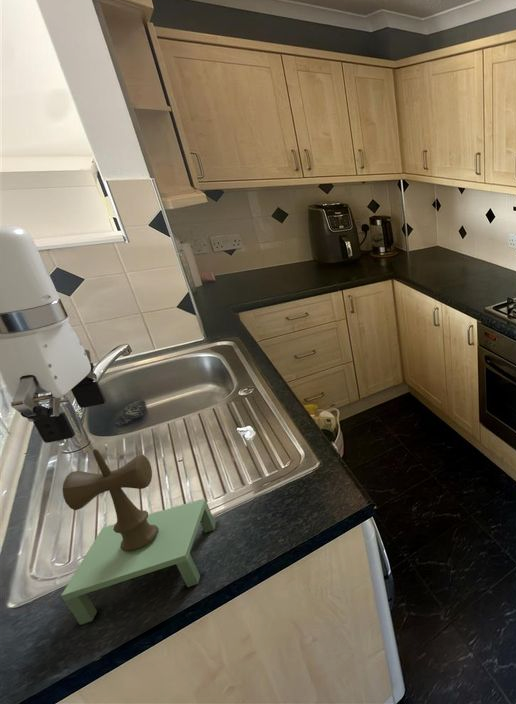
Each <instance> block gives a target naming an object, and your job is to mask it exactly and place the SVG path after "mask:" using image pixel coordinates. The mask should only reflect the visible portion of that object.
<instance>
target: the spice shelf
mask: <svg viewBox="0 0 516 704" xmlns="http://www.w3.org/2000/svg"><path fill="white" fill-rule="evenodd" d="M213 516H214V515H213V514H212V511H211V509H210V507H209V504H208V501H207V499H206V498H202V499H197V500H194V501H190V502H187V503H184V504H181V505H176V506H173V507H169V508H166V509H162V510H159V511H155V512H152V513H148V518H147V521H148V523H149V524H150V525H156V526H157V527H158V528H159V530H158V534H157V535H156V537H155V538H154V539H153V540H152V541H151V542H150V543H148V544H147V545H145V546H144V547H141V548H139V549H137V550H133V551H123V550H122V549H121V548H120V546H121V542H122V540H123V538H122V535H121V534H120V533H116V532H115V531H114V530H113V529H114V525H115V524H116V523H114V524H111V525H107V526H104V527H102V528H101V529H100V531H99V533H98V534H97V536H96V537H95V539H94V541H93V542H92V545H91V546H90V547H89V549H88V551H87V552H86V554H85V556H84V557H83V558H82V561H81V562H80V564H79V565H78V567H77V568H76V570H75V572H74V574H73V575H72V577H71V578H70V580H69V582H68V583H67V585H66V587H65V588H64V590H63V591H62V593H61V595H60V597H61V598H62V600H63V602H64V603H65V604H66V606H67V608H68V609H69V611H70V612H71V613H72V615H73V616H74V618H75V620H76V621H77V622H78V624H79V626H81V625H84V624H87V623H90V622H92V621H94V619H95V616H96V615H97V613H98V611H97V609H96V607H95V606H94V604H93V603H92V601H91V599H90V598H89V596H88V594H89V593H92V592H95V591H98V590H101V589H104V588H108V587H111V586H113V585H116V584H119V583H122V582H125V581H129V580H132V579H135V578H138V577H141V576H144V575H147V574H150V573H154V572H156V571H159V570H163V569H166V568H168V567H171V566H174V565H176V567H177V569H178V571H179V573H180V575H181V577H182V579H183V581H184V584H185V585H186V588H190V587H193V586H195V585H198V584H199V581H200V579H201V574H200V572H199V570H198V568H197V566H196V564H195V562H194V559H193V557H192V555H191V550H192V547H193V544H194V541H195V539H196V535H197V533H198V530H199V527H200V525H201V527H202V530H203V532H204V534H206V533H210V532H212V531H215V528H216V525H217V524H216V521H215V519H214V517H213Z"/></svg>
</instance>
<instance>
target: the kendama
mask: <svg viewBox="0 0 516 704" xmlns="http://www.w3.org/2000/svg"><path fill="white" fill-rule="evenodd" d="M92 453H93V456H94V459H95V461H96V464H97V466H98V468H99V470H100V472H101V473H93V472H87V471H82V470H75V471H71V472H69V473H68V475H66V476H65V479H64V481H63V484H62V488H61V489H62V497H63V499H64V502H65V504H66V505H67V506H68V508H69V509H71V510H73V511H78V510H81V509H83V508H85V507H86V506H87V505H88V504H89V503H90V502H92V501H93V500H94V499H95V498H96V497H97V496H99V495H100V494H104V493H106V492H109V494H110V497H111V499H112V503H113V506H114V511H115V515H116V522H115V523H114V524H115V525H114V524H113V525H114V529H113V530H114V531H115V532H116V533H120V534H121V535H122V538H123V540H122V542H121V546H120V548H121V549H122V550H123V551H133V550H137V549H139V548H141V547H144V546H145V545H147V544H148V543H150V542H151V541H152V540H153V539H154V538H155V537H156V535H157V534H158V530H159V528H158V527H157V526H156V525H150V524H149V523H148V521H147V518H148V514H149V511H147V510H143V509H142V510H141V509H139V508H138V507H137V506H136V505H135V504H134V503H133V502H132V500H131V499H130V498H129V497H128V495H127V494H126V493H125V491H124V490H123V489H125V488H127V489H136V490H137V489H138V490H144V489H146V488H148V487H149V486H150V484H151V482H152V479H153V470H152V469H153V468H152V466H151V462H150V460H149V459H148V458H147V456H145V455H144V454H139V455H137V456H135V457H133V458H132V459H131V460H130V461H128V462H127V463H125V464H124V465H122V466H120V467H119V468H116V469H114V470H111V469H110V467H109V466H108V464H107V462H106V460H105V459H104V457H103V455H102V453H101V452H100V451H99V449H97V448H94V449H93V450H92Z"/></svg>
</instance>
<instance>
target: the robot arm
mask: <svg viewBox="0 0 516 704" xmlns="http://www.w3.org/2000/svg"><path fill="white" fill-rule="evenodd" d="M94 367H95V366H94V363H93V362H92V358H91V352H90V350H88V349H85V348H84V347H83V344H82V343H81V341H80V339H79V337H78V335H77V333H76V332H75V330H74V329H73V327H72V326H71V323H70V317H69V316H68V313H67V311H66V309H65V307H64V304H63V301H62V300H61V298H60V296H59V293H58V291H57V289H56V287H55V284H54V282H53V280H52V277H51V275H50V274H49V271H48V269H47V267H46V265H45V263H44V259H43V258H42V256H41V254H40V252H39V249H38V247H37V245H36V243H35V241H34V239H33V237H32V235H31V234H30V232H28V231H27V230H26V229H24V228H22V227H19V226H12V225H0V375H1V377H2V380H3V381H4V384H5V386H6V388H7V391H8V392H9V394H10V396H11V398H12V399H11V401H10V402H11V403H10V406H11V408H13V409H14V410H15V411H17V412H18V413H19V414H20V416H22V417H23V418H26V419H27V421H29V422H32V423H33V425H34V426H35V428H36V430H37V432H38V434H39V436H40V437H41V439H42V441H43V442H44V443H46V444H49V443H54V442H59V441H65V440H68V439H69V440H70V439H72V438H74V436H75V435H76V432H75V430H74V428H73V426H72V424H71V422H70V420H69V418H68V416H67V414H66V412H65V411H62V412H61V398H62V397H64V396H65V395H66V394H68V393H69V392H70V391H71V393H72V395H73V397H74V399H75V401H76V403H77V405H78V408H80V409H84V408H89V407H94V406H100V405H104V404H105V403H106V401H107V400H106V397H105V395H104V393H103V391H102V389H101V387H100V385H99V382H98V376H97V374H96V373H95V372H94ZM49 393H50V394H49ZM45 402H48V407H47V406H44V405H41V404H40V403H45Z"/></svg>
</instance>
